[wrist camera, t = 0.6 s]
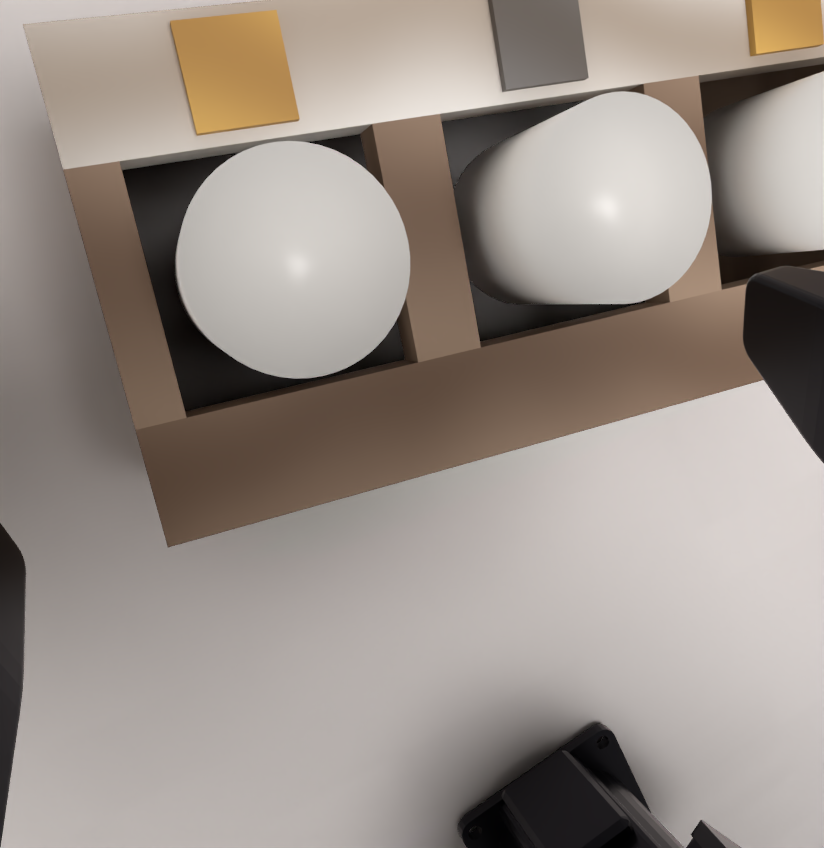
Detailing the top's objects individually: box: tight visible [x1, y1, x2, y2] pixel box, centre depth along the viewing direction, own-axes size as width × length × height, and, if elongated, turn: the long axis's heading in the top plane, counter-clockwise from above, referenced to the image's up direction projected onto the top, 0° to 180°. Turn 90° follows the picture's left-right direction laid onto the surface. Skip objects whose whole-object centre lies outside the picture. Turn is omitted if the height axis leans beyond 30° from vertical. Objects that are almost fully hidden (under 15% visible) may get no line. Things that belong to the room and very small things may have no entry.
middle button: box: [454, 91, 712, 304], centre depth 17 cm, size 4×4×4 cm
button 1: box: [703, 71, 824, 257], centre depth 19 cm, size 4×4×4 cm
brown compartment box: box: [23, 0, 824, 547], centre depth 21 cm, size 10×20×7 cm, turn 101°
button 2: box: [174, 141, 410, 379], centre depth 15 cm, size 4×4×4 cm
